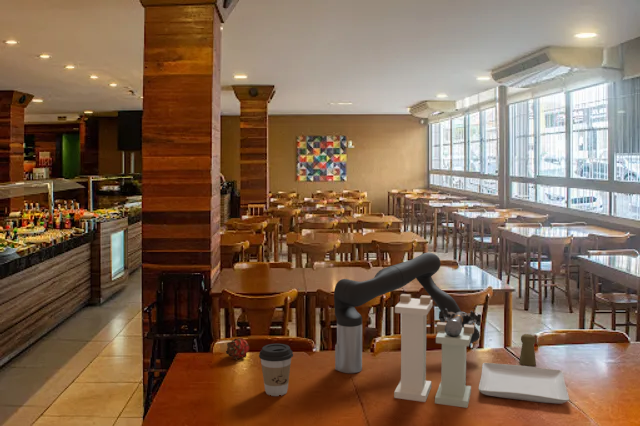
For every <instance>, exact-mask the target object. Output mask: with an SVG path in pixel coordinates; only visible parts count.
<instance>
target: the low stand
mask: <svg viewBox="0 0 640 426" xmlns="http://www.w3.org/2000/svg"><path fill="white" fill-rule="evenodd" d="M446 323H447V322H446V321H445V322H441V321H437V322H436V331H437V334H436V336H435V344H441V372H440V374H441V375H440V376H441V378H440V382H439V386H438V388H437V392H436V393H435V396H434V404H438V405H444V406H452V407H460V408H466V409H467V408H469V407H468V406H469V403H470V399H471V394H472V385H466V384H467V381H466V380H467V378H466V377H467V347H470V345H471V344H470V340H471V337H472V334H473V333H474V326H475V325H474V324H473V325H467V324H465V325H464V328H462V330H461V333H460V335H459V336H457V337H450V336H448V335H447V334H446V332H445V326H446Z"/></svg>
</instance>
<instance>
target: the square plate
mask: <svg viewBox="0 0 640 426" xmlns="http://www.w3.org/2000/svg"><path fill="white" fill-rule="evenodd" d="M480 375H481V376H480V380H479V385H478V391H479V392H480V393H481V394H483V395H485V396H490V397H497V398H503V399H510V400H512V399H513V400H517V401H518V400H520V401H526V402H534V403H544V404H559V405H560V404H564V403H567V402H568V401H570V396H569V392H568V389H567V386H566V381H565V375H564V371H563V370H561V369H553V368H546V367H537V366H525V365H520V364H519V365H517V364H507V363H506V364H505V363H493V362H483V363H482V366H481V374H480Z"/></svg>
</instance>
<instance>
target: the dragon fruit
mask: <svg viewBox="0 0 640 426" xmlns="http://www.w3.org/2000/svg"><path fill="white" fill-rule="evenodd" d="M226 345H227V348H226V351H225V354H226V355H228V357H231V358H232V359H233V360H236V359H238V360H240V358H242V359H243V358H246V357H247V353H248V352H249V351H250V345H249V344H248V341H247V340H245V339H243V338H242V337H238V338H234V339H232V340H231V342H230V341H229V342H227V344H226Z"/></svg>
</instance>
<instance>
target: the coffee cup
mask: <svg viewBox="0 0 640 426" xmlns="http://www.w3.org/2000/svg"><path fill="white" fill-rule="evenodd" d="M258 354H259V355H258V358H259V359H260V363H261V369H262V370H261V371H262V377H263V385H264V391H265V393H266V395H268V396H270V395H271V397H280V396H279V395H281V396H284V395H286V394H287V393H288V390H289V381H290V372H291V365H292V363H291V362H292V358H293V357H294V352H293V350H292V349H291V347H290V346H289V345H288V344H285V343H269V344H266V345H264V346H263V347H261V350H260V351H259V353H258Z"/></svg>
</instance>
